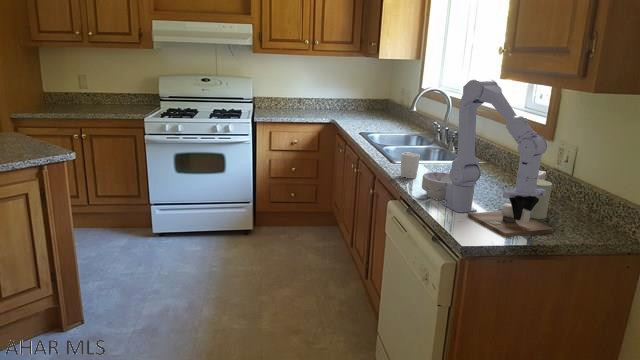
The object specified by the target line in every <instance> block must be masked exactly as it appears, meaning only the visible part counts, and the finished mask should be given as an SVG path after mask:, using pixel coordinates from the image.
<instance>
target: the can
mask: <svg viewBox="0 0 640 360" xmlns="http://www.w3.org/2000/svg"><path fill="white" fill-rule="evenodd" d="M552 187H553V183H552V182H551V181H548V180H546V179H545V180H540V179H537V185H536V189H544V190H546V194H545V196H536V197H537V198H539V202H538V203H537V204H536V205H535V206H534V207H533V209H532V211H531V213H530V219H538V220H539V219H540V220H541V219H546V218H547V217H548V209H549V203H550V196H551V193H552Z"/></svg>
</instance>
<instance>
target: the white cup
mask: <svg viewBox="0 0 640 360" xmlns="http://www.w3.org/2000/svg"><path fill="white" fill-rule="evenodd" d="M420 157H421V154H419V153H415V152H408V151H406V152H402V153H401V155H400V177H401V176H402V177H401V178H403V177H406V178H405V179H407V178H414V179H416V178H417V176H418V170H419V164H420V159H421V158H420Z"/></svg>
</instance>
